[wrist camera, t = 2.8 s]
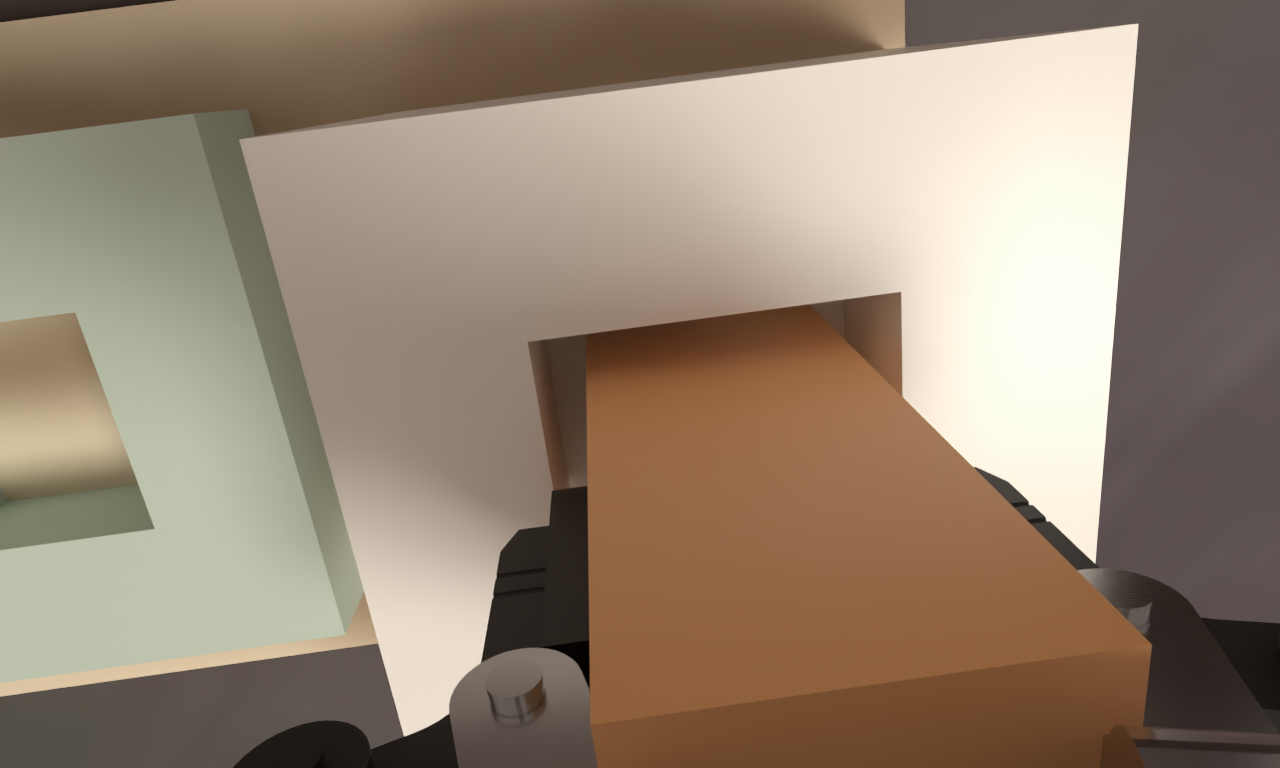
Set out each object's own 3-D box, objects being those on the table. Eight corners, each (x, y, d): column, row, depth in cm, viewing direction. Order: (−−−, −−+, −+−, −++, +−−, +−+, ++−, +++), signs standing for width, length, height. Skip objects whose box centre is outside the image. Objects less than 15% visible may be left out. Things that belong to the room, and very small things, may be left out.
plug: (585, 327, 15) (589, 725, 6) (803, 298, 15) (1151, 644, 6) (619, 554, 17) (665, 1146, 8) (815, 527, 17) (1102, 1081, 8)
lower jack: (-300, 179, 20) (-447, 195, 17) (247, 108, 20) (193, 113, 17) (-73, 632, 24) (-159, 705, 22) (372, 570, 25) (345, 634, 22)
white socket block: (397, 111, 20) (239, 139, 11) (884, 49, 21) (1138, 23, 11) (488, 540, 24) (429, 825, 15) (892, 484, 25) (1081, 731, 15)
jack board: (-313, 67, 20) (-357, 67, 19) (888, -84, 20) (903, -91, 20) (-17, 679, 26) (-39, 701, 25) (898, 551, 27) (909, 568, 26)
